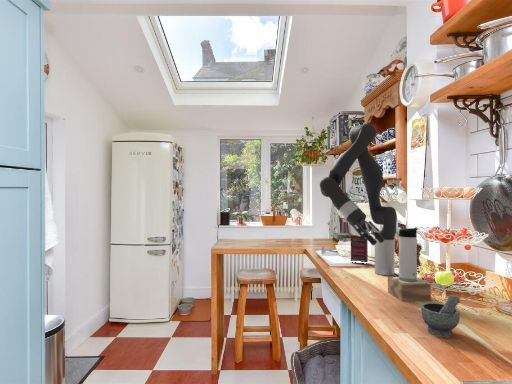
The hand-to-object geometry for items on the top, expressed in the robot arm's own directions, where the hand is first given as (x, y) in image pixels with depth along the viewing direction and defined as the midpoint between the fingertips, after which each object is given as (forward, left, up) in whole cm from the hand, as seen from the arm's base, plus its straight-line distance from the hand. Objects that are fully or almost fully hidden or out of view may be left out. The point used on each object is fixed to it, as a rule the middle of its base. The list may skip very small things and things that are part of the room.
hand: (379, 242), depth 135 cm
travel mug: (+8, +8, -13) cm, 17 cm away
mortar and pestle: (+42, -1, -20) cm, 46 cm away
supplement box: (-53, +13, -20) cm, 58 cm away
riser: (+8, +8, -19) cm, 23 cm away
